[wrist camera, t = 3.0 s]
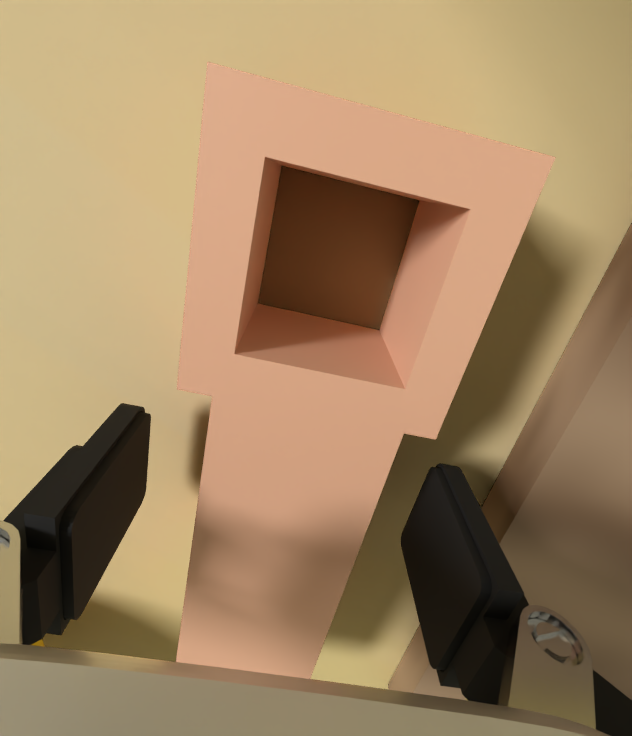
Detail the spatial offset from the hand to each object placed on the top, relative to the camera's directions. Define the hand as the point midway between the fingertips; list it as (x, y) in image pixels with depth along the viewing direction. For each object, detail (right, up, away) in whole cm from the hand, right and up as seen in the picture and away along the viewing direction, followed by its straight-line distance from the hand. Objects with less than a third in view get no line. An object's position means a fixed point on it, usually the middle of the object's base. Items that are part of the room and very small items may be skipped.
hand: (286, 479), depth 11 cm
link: (0, +1, +1) cm, 2 cm away
